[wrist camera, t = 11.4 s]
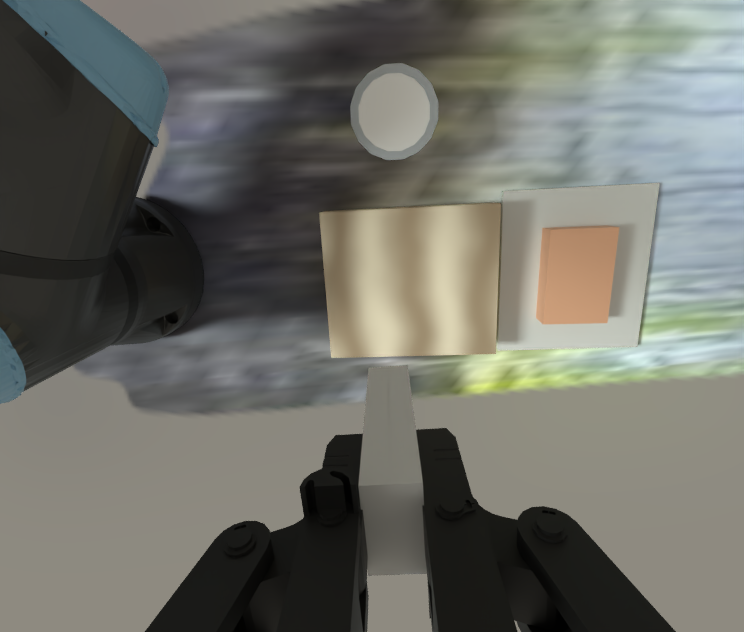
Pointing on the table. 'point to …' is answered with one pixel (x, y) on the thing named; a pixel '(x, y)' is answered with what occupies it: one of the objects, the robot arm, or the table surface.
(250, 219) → the table surface
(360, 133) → the shot glass
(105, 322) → the robot arm
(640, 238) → the grey mat
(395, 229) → the board
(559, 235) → the terracotta block
